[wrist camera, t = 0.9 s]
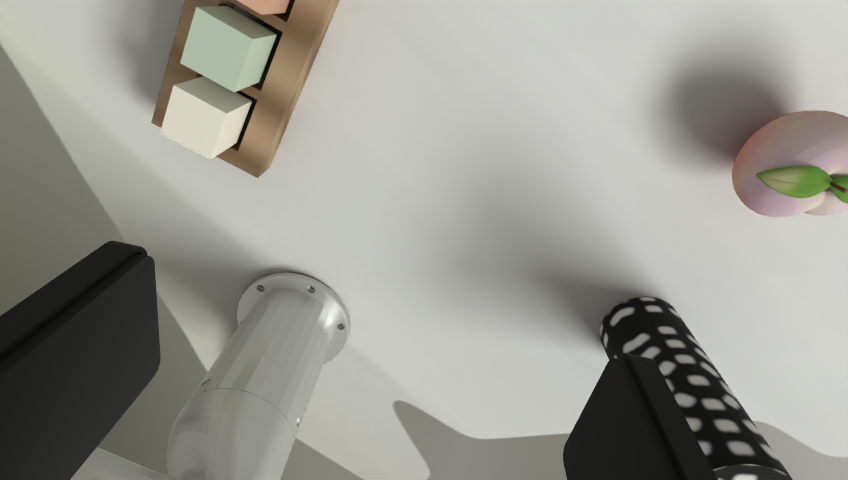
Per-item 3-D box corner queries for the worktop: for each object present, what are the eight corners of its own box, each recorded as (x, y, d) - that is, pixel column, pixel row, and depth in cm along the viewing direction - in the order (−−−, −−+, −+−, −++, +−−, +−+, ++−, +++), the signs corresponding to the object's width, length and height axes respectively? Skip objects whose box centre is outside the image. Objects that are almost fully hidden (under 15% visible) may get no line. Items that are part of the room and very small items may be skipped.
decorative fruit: (837, 95, 39) (946, 123, 31) (808, 188, 43) (898, 237, 34) (718, 102, 40) (791, 132, 31) (700, 192, 44) (761, 241, 35)
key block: (269, 167, 46) (257, 177, 43) (170, 115, 44) (151, 122, 41) (392, -127, 35) (386, -137, 32) (265, -211, 33) (248, -230, 30)
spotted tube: (688, 297, 49) (816, 467, 31) (670, 360, 53) (776, 542, 35) (606, 296, 50) (686, 461, 32) (594, 357, 54) (661, 536, 36)
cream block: (236, 142, 42) (210, 159, 38) (191, 119, 42) (159, 133, 37) (252, 101, 41) (226, 113, 36) (205, 75, 40) (173, 85, 35)
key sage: (259, 82, 40) (234, 92, 35) (211, 55, 39) (180, 62, 35) (277, 34, 38) (252, 39, 34) (227, 6, 37) (196, 7, 33)
